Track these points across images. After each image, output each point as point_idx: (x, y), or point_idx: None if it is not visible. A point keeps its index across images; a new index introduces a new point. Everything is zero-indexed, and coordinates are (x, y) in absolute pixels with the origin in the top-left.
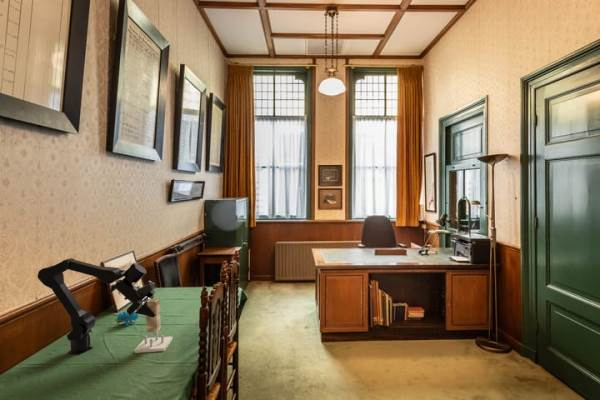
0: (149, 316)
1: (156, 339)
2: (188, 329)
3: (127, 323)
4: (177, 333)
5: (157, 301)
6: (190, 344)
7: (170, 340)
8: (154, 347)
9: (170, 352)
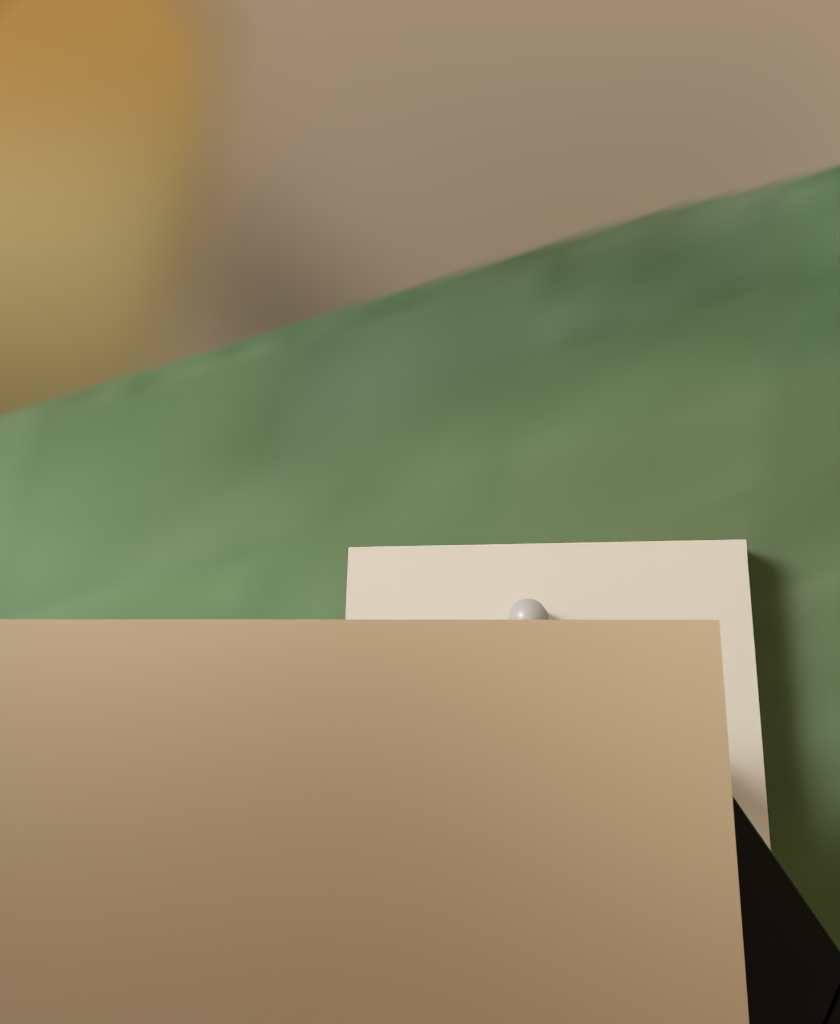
0: None
1: None
2: (104, 445)
3: None
4: (193, 545)
5: (431, 625)
6: (566, 279)
7: (447, 548)
8: None
9: (792, 447)
